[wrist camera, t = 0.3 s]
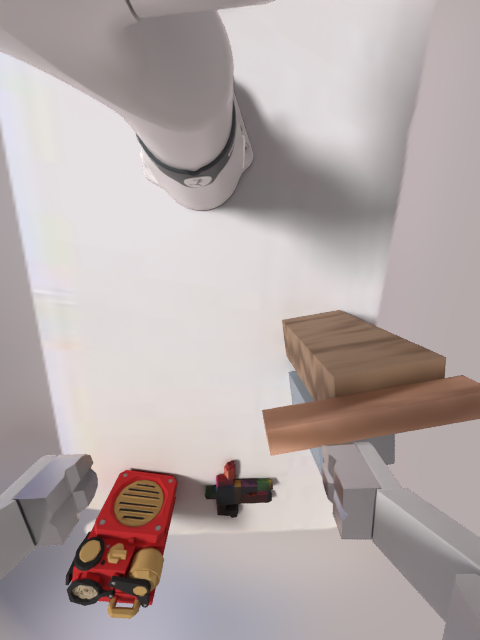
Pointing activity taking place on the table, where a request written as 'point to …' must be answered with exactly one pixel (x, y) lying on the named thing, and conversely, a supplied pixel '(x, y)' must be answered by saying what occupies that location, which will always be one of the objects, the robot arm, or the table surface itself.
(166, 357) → the table surface
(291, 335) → the post
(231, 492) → the toy
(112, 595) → the radio
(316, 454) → the dock
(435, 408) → the bar
